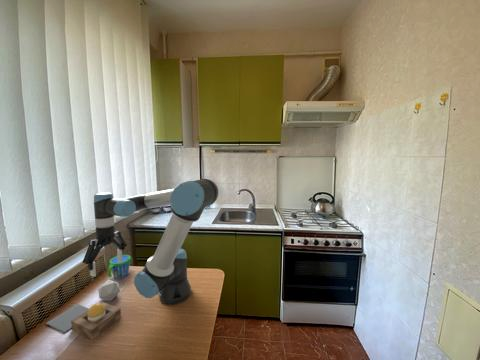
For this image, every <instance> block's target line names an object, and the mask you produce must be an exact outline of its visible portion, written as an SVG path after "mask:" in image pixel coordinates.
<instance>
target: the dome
mask: <svg viewBox="0 0 480 360" xmlns="http://www.w3.org/2000/svg"><path fill="white" fill-rule="evenodd" d="M88 308H89V310H88V321H90V322H92V323H95V322H96V321H98V320H99V319H101V318H102V317H103V316H105V315H106V312H105V306H104V305H103V304H102V303H99V302H96V303H94V304H92V305H91V306H90V307H88Z"/></svg>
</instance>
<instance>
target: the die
mask: <svg viewBox="0 0 480 360" xmlns="http://www.w3.org/2000/svg"><path fill="white" fill-rule="evenodd" d="M97 291H98V298H99V299H101V300H103V301H107V302H112V301H113V300H114V298H115V297H116V296H117V295H118V294H119V293H120V292H121V288H120V282H117V281H115V280H111V279H107V280H106V281H105V282H104V283H103V284H102V285H101V286H100V287H99V288H98V290H97Z"/></svg>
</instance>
